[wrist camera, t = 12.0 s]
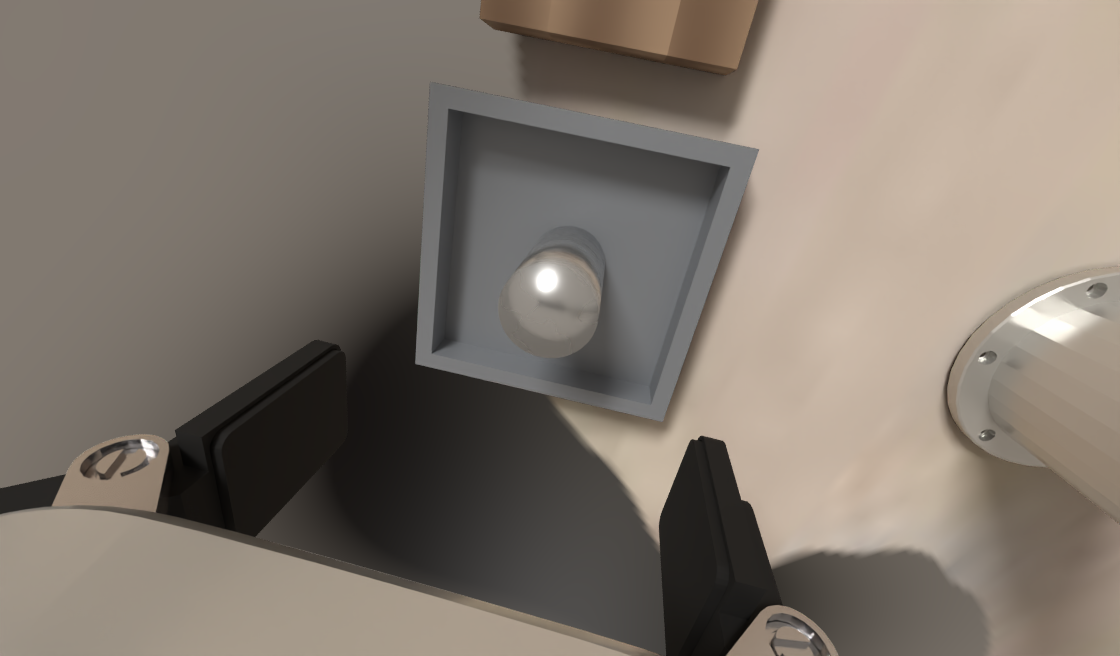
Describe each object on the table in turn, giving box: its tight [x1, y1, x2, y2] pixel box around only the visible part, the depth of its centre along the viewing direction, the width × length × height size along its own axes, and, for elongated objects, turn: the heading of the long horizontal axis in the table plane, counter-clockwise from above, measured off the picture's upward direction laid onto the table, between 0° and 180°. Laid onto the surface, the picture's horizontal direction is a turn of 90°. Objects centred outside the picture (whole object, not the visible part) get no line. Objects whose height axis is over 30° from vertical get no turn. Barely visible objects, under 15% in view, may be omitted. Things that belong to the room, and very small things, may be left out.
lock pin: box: [498, 226, 605, 358], centre depth 23 cm, size 4×4×8 cm
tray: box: [415, 82, 759, 422], centre depth 26 cm, size 16×16×3 cm
